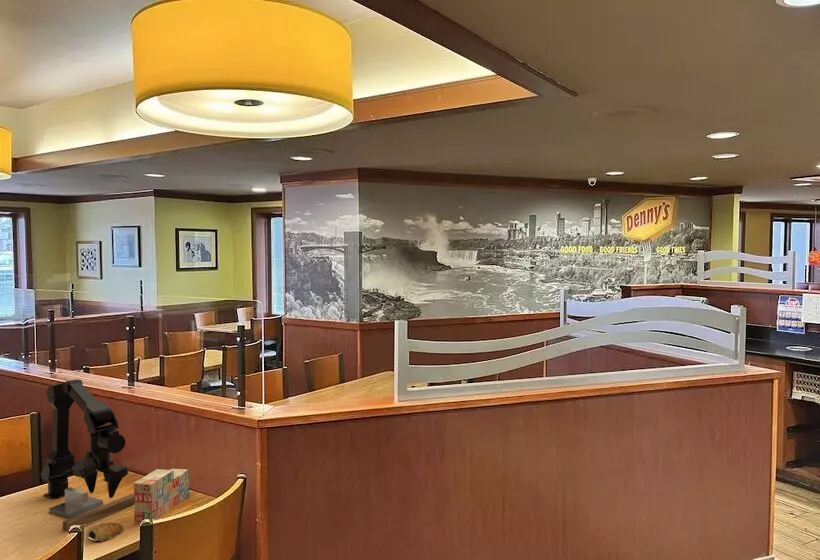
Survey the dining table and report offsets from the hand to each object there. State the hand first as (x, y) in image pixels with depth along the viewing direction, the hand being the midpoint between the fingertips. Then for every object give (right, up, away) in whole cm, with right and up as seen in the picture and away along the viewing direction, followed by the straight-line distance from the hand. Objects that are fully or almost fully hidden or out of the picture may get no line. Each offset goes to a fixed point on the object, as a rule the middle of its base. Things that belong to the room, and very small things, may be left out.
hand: (101, 495), depth 197 cm
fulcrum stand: (-11, -6, +6) cm, 14 cm away
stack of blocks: (+17, -7, +7) cm, 19 cm away
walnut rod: (0, -7, 0) cm, 7 cm away
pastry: (+8, -8, -14) cm, 17 cm away
